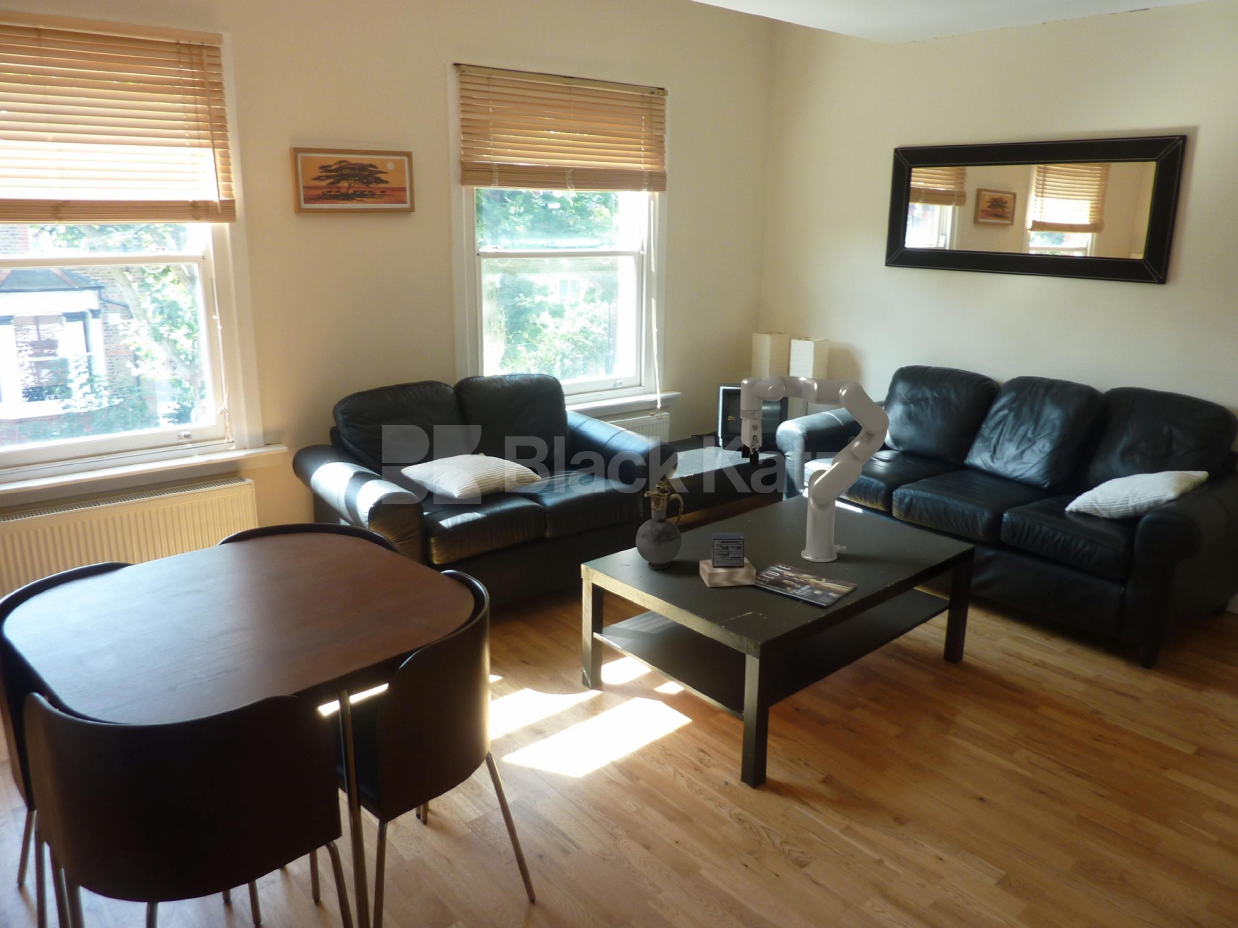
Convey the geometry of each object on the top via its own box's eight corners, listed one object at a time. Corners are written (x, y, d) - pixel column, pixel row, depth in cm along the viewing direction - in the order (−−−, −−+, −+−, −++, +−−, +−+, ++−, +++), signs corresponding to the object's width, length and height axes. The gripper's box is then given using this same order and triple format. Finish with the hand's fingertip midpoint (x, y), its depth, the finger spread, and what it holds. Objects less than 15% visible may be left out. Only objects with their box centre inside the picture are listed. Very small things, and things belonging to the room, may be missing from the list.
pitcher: (631, 566, 328) (630, 484, 320) (671, 554, 339) (672, 474, 332) (652, 575, 320) (652, 490, 312) (692, 562, 331) (693, 480, 324)
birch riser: (744, 571, 323) (745, 557, 322) (755, 583, 311) (755, 569, 310) (699, 574, 320) (699, 560, 319) (708, 587, 309) (708, 572, 308)
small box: (742, 561, 318) (743, 531, 315) (744, 568, 312) (745, 538, 309) (711, 561, 318) (711, 531, 316) (712, 568, 312) (712, 538, 309)
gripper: (769, 418, 319) (767, 466, 324) (754, 408, 336) (753, 455, 340) (748, 419, 318) (746, 468, 323) (733, 409, 335) (732, 456, 339)
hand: (749, 461), depth 331 cm, fingers open, 9 cm apart
